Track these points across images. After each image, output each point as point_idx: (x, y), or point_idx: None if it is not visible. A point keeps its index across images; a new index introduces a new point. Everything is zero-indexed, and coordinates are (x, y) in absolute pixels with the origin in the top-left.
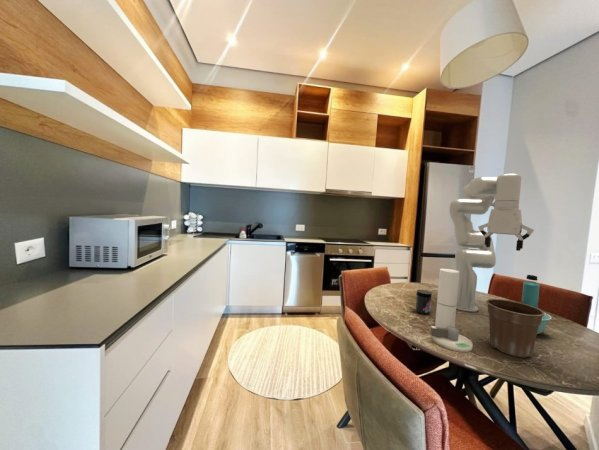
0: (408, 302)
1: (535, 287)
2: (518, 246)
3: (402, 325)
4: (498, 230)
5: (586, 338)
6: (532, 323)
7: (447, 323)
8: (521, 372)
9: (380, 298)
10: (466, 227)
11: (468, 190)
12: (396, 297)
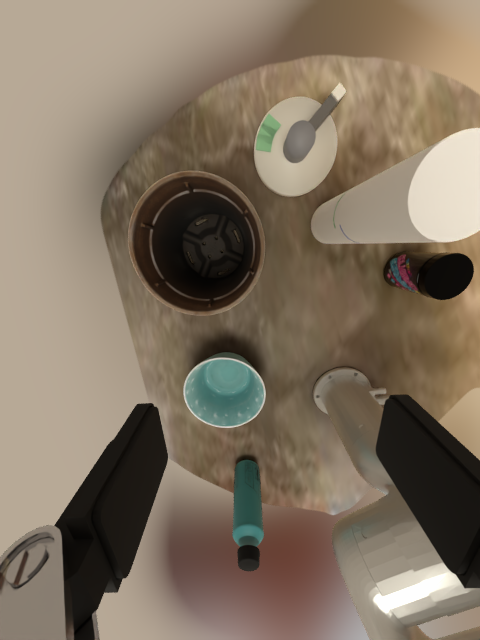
0: (451, 304)
1: (237, 522)
2: (120, 432)
3: (411, 123)
4: None
5: (161, 421)
6: (150, 215)
7: (327, 201)
8: (169, 154)
9: None
10: None
11: None
12: None
